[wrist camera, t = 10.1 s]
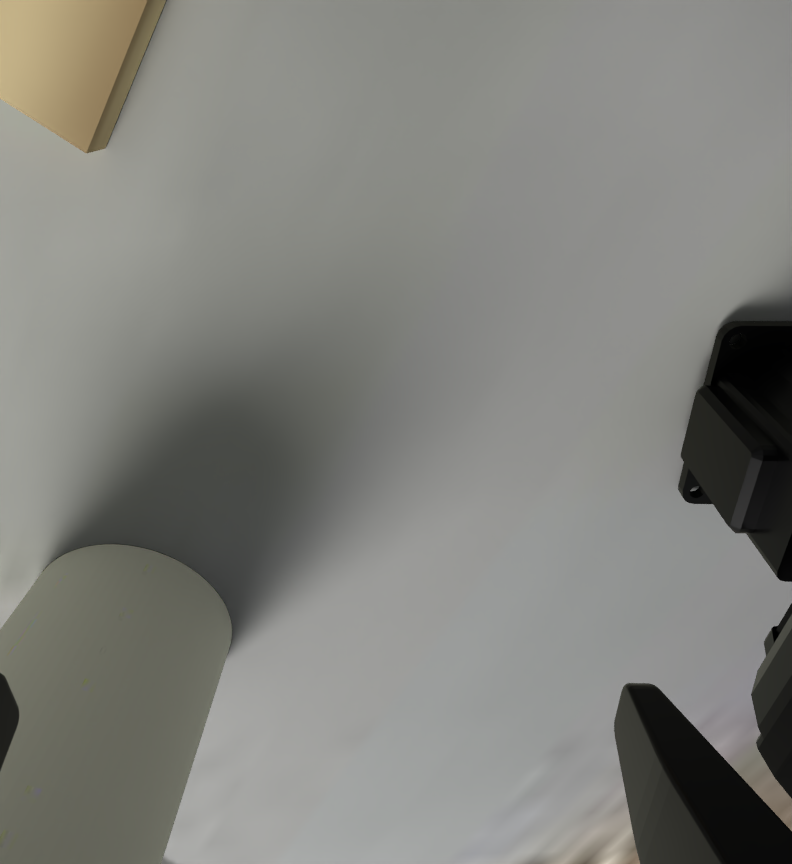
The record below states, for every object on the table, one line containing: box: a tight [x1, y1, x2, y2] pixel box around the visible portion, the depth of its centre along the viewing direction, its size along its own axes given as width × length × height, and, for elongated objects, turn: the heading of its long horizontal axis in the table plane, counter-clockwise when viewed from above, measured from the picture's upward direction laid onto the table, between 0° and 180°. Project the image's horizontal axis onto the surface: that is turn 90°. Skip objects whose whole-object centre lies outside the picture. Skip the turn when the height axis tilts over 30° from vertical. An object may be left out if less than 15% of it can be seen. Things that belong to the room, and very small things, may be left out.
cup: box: [0, 544, 232, 864], centre depth 22 cm, size 8×8×12 cm
